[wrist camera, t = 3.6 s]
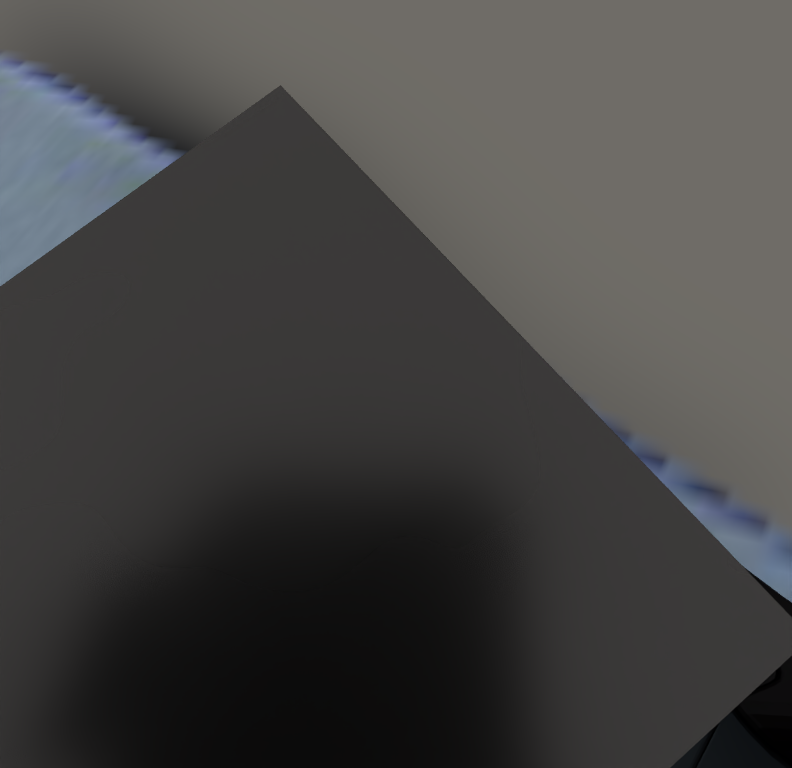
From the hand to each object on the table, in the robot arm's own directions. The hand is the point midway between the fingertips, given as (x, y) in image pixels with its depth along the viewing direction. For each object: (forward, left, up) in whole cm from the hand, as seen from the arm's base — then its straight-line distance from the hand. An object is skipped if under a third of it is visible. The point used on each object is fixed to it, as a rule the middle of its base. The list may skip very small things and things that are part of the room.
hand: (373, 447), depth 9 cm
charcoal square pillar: (-1, +1, -7) cm, 7 cm away
